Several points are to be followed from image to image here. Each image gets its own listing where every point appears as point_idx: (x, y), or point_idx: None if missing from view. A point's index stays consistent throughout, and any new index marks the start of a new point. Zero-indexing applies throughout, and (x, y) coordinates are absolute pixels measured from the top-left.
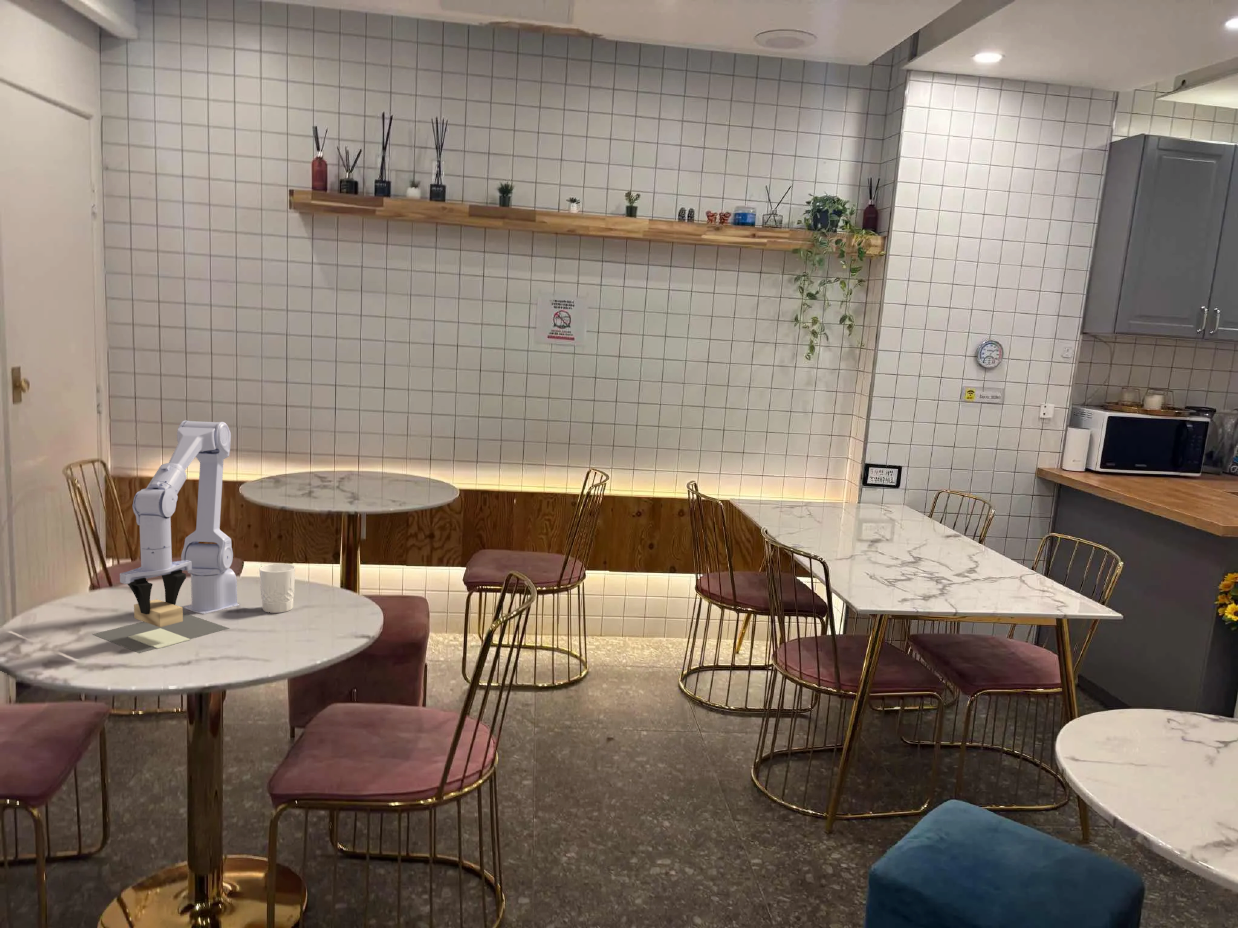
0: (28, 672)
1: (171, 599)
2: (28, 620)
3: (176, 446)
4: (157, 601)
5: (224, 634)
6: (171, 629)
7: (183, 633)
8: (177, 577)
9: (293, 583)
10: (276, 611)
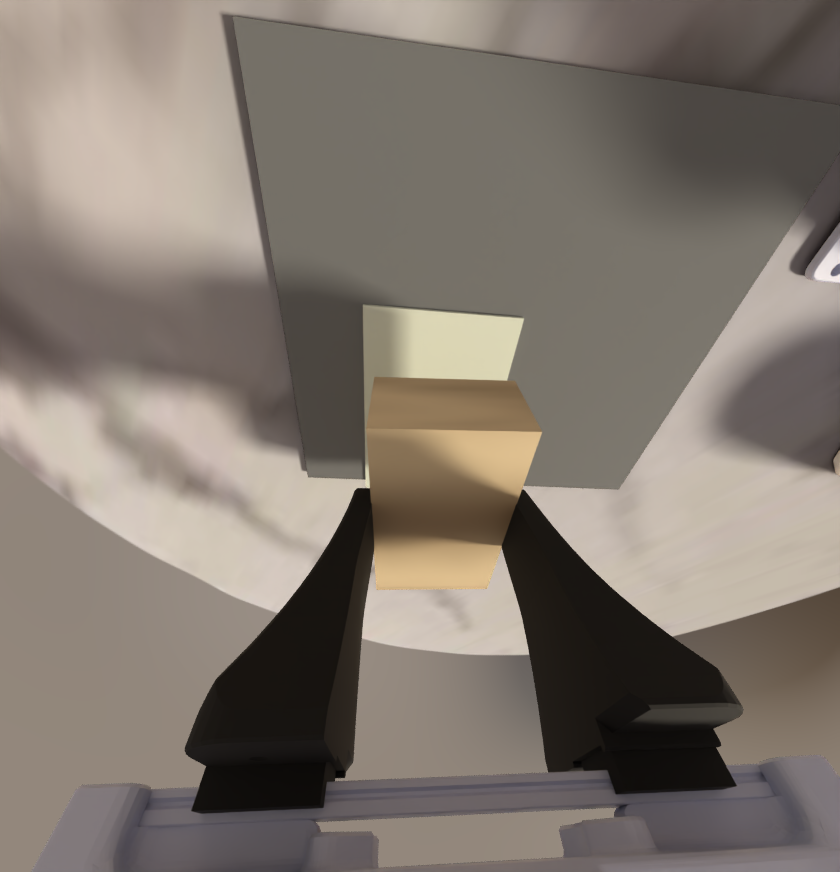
0: None
1: (511, 560)
2: None
3: None
4: (502, 470)
5: (571, 500)
6: (537, 360)
7: None
8: (550, 766)
9: None
10: (838, 469)
